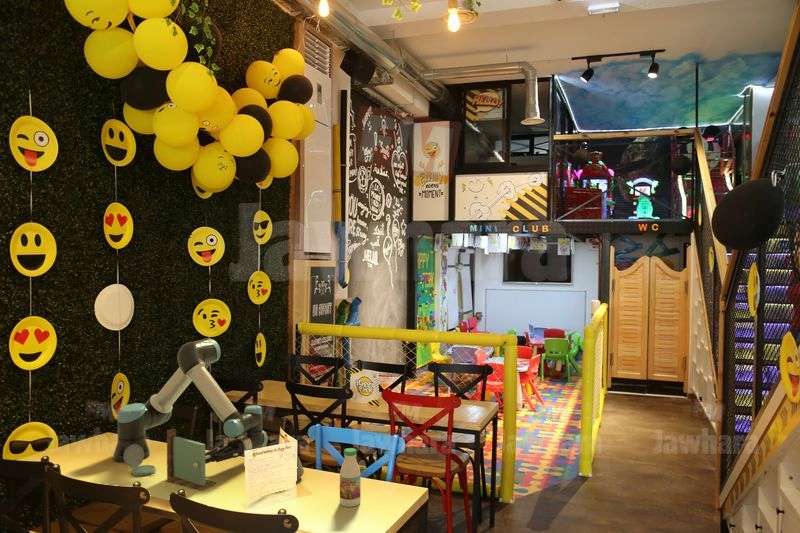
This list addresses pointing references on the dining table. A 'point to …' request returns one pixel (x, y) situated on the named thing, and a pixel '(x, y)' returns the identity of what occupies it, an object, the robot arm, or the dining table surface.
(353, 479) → the milk bottle
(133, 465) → the pocket watch
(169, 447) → the door frame
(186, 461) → the door
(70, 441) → the dining table surface
